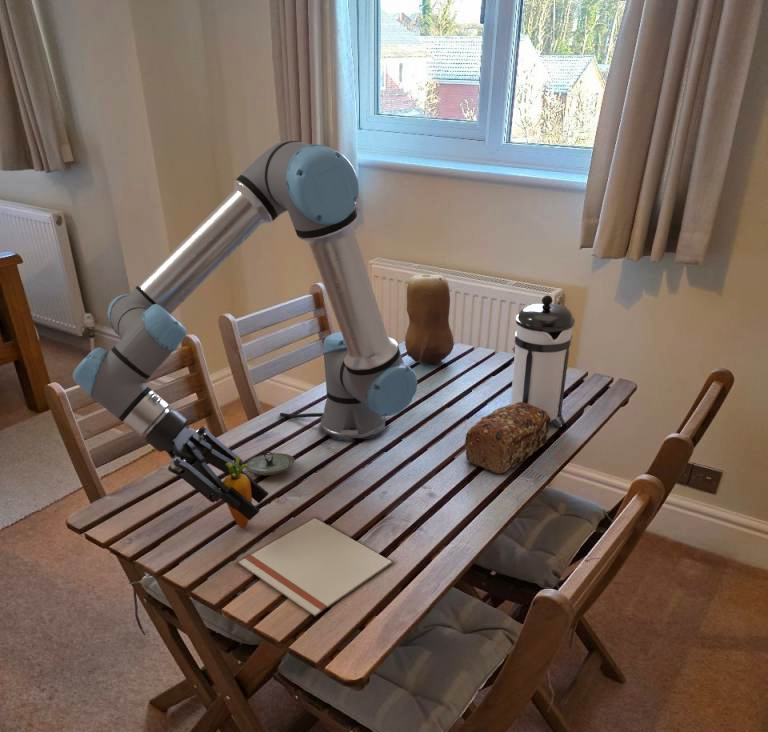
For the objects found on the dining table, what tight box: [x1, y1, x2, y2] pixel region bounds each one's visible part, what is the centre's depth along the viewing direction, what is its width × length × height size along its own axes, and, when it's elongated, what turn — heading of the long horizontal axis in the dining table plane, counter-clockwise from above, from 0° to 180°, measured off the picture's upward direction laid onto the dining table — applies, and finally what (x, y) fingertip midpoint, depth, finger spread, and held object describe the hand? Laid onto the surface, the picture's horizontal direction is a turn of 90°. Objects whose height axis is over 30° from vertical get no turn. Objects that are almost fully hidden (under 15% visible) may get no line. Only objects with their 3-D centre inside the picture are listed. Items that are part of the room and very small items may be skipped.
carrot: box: [222, 456, 253, 530], centre depth 126 cm, size 5×5×15 cm
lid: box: [244, 450, 296, 476], centre depth 147 cm, size 11×10×5 cm
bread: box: [464, 402, 551, 474], centre depth 150 cm, size 19×11×10 cm, turn 137°
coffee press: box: [509, 295, 576, 428], centre depth 160 cm, size 17×16×30 cm
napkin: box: [238, 517, 393, 617], centre depth 121 cm, size 20×18×1 cm
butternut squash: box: [404, 273, 454, 366], centre depth 191 cm, size 14×13×25 cm
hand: (259, 506), depth 127 cm, fingers open, 5 cm apart
